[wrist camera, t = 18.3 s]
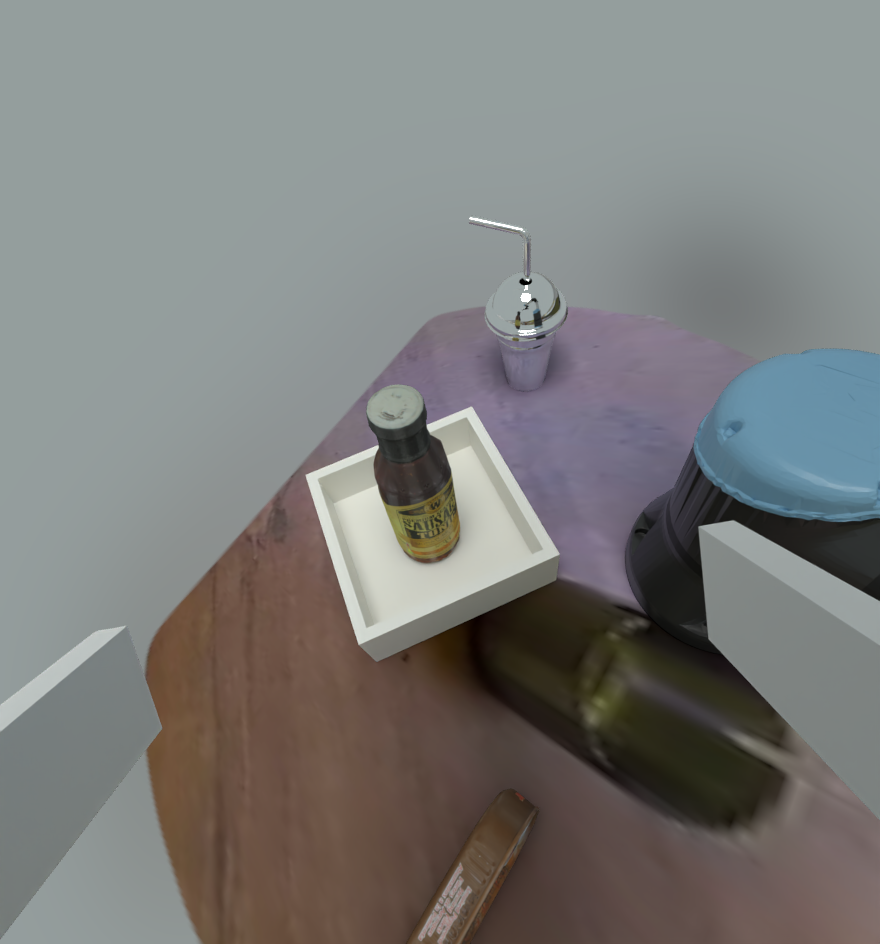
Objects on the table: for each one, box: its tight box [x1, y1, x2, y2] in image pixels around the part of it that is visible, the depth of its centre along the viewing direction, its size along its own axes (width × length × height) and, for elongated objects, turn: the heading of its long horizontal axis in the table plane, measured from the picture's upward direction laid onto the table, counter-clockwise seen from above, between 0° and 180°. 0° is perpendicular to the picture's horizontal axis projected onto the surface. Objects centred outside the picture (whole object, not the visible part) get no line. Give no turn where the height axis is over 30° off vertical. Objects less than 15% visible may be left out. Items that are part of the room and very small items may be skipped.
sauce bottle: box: [366, 385, 460, 563], centre depth 43 cm, size 6×6×20 cm
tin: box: [406, 789, 539, 944], centre depth 34 cm, size 15×3×8 cm, turn 143°
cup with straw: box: [469, 216, 568, 391], centre depth 54 cm, size 8×9×20 cm
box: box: [306, 407, 560, 662], centre depth 50 cm, size 18×18×6 cm
